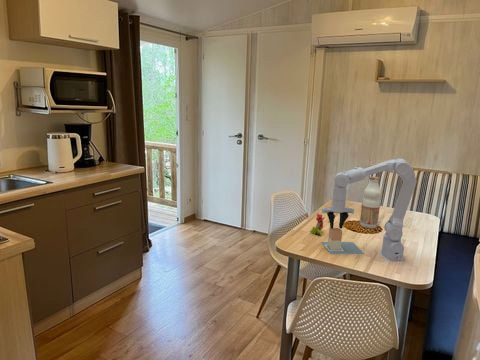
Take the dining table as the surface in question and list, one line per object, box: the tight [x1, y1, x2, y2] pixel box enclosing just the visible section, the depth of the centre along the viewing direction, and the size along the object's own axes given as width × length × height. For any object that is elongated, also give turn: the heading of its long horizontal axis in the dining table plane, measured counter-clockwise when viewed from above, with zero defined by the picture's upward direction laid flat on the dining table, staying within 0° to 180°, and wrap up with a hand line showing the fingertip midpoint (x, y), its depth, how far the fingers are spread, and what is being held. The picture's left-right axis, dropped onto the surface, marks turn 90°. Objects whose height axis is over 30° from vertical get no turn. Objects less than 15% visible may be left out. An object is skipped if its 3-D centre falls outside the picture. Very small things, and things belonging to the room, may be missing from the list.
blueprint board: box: [320, 241, 365, 255], centre depth 168 cm, size 14×16×1 cm
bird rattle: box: [309, 213, 326, 237], centre depth 185 cm, size 6×11×9 cm
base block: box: [327, 237, 342, 250], centre depth 167 cm, size 4×4×4 cm
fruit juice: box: [359, 175, 382, 230], centre depth 198 cm, size 9×9×28 cm
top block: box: [328, 227, 343, 242], centre depth 166 cm, size 4×4×4 cm
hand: (336, 227), depth 165 cm, fingers open, 4 cm apart
